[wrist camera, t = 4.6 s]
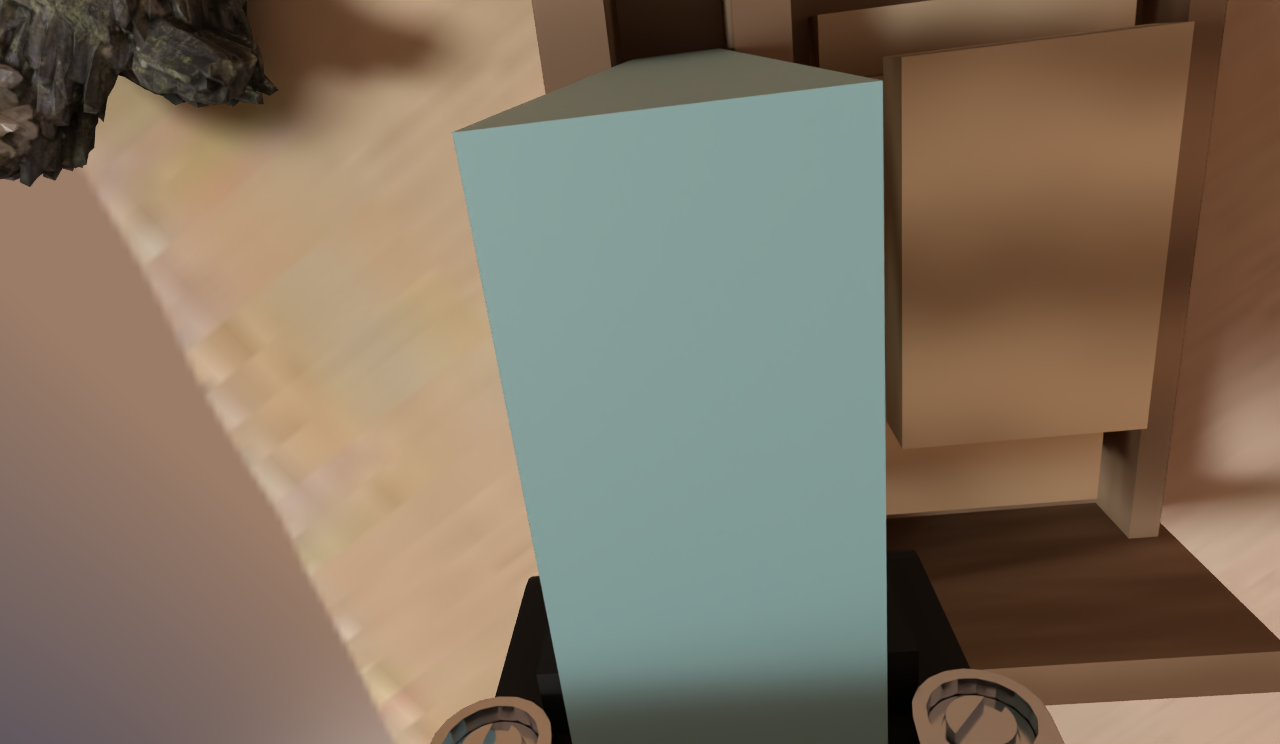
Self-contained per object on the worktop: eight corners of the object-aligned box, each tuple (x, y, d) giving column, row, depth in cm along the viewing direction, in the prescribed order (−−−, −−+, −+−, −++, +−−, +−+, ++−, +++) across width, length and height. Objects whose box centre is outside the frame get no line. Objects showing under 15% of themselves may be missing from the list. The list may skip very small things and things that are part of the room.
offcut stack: (807, 17, 26) (843, 8, 20) (1105, -21, 25) (1228, -42, 19) (825, 467, 31) (857, 557, 26) (1067, 447, 31) (1154, 535, 25)
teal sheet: (631, 59, 23) (451, 133, 5) (719, 48, 23) (882, 81, 5) (680, 485, 28) (684, 1310, 10) (752, 479, 28) (892, 1311, 10)
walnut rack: (535, -82, 26) (457, -155, 17) (1185, -174, 25) (1493, -311, 15) (626, 549, 35) (608, 730, 26) (1113, 512, 33) (1282, 691, 24)
